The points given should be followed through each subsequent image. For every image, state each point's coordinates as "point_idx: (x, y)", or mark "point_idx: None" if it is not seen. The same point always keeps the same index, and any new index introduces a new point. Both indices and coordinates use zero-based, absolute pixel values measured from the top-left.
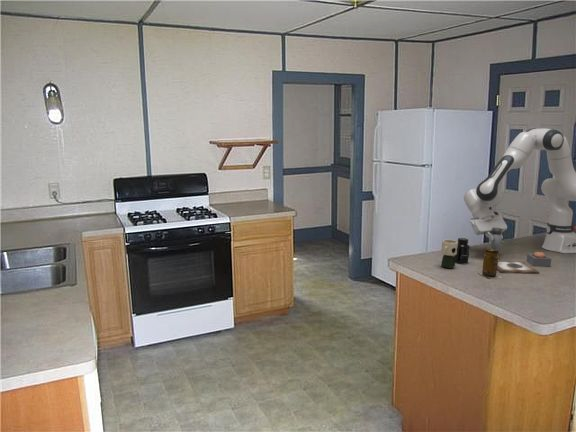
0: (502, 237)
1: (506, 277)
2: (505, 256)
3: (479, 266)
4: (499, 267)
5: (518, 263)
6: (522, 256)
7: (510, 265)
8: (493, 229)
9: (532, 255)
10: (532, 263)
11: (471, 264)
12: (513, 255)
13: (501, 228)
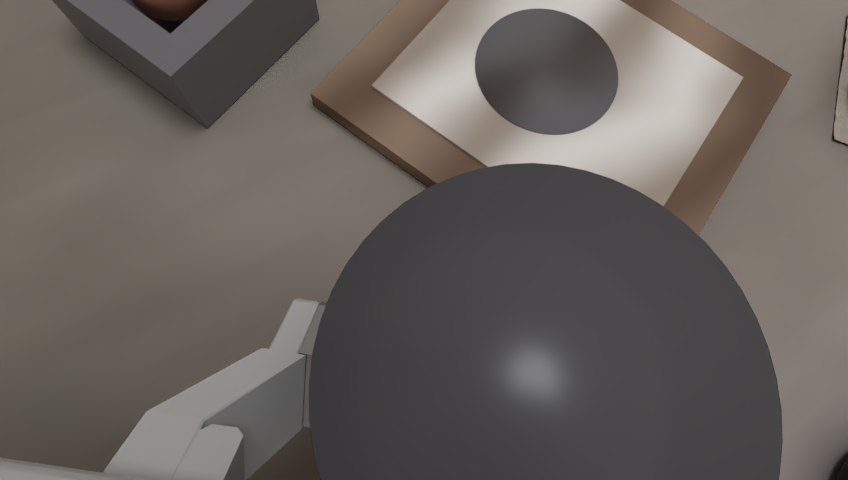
0: (310, 303)
1: (814, 6)
2: (187, 373)
3: (808, 300)
4: (716, 128)
5: (438, 86)
6: (13, 254)
7: (581, 91)
8: (760, 441)
9: (199, 12)
10: (294, 26)
11: (839, 394)
12: (52, 342)
13: (351, 266)
